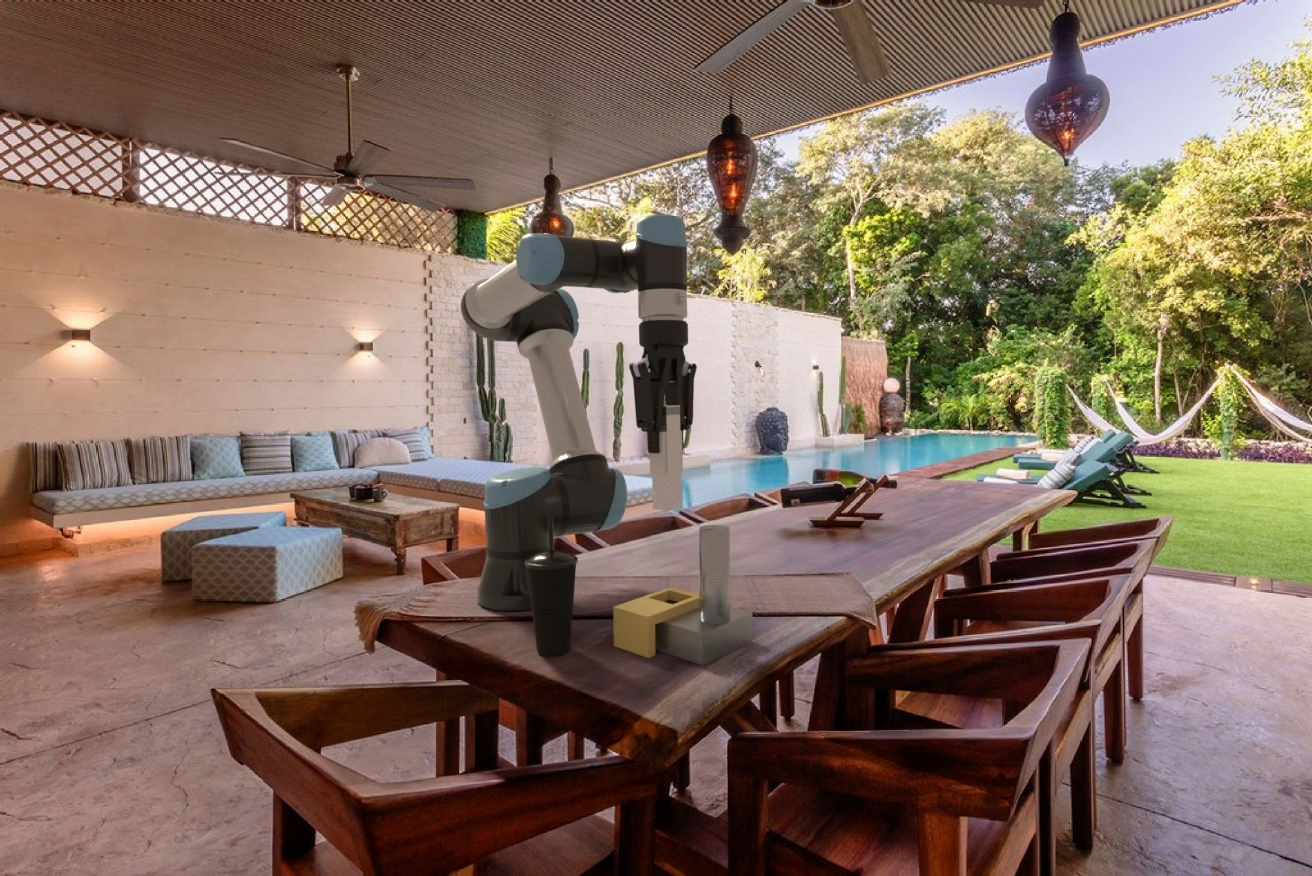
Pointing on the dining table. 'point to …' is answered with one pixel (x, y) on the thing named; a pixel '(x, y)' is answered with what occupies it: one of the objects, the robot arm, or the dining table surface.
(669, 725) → the dining table surface
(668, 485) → the pin
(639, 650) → the bracket
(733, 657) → the dining table surface
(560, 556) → the drinking cup
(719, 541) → the gray post on base
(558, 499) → the robot arm
